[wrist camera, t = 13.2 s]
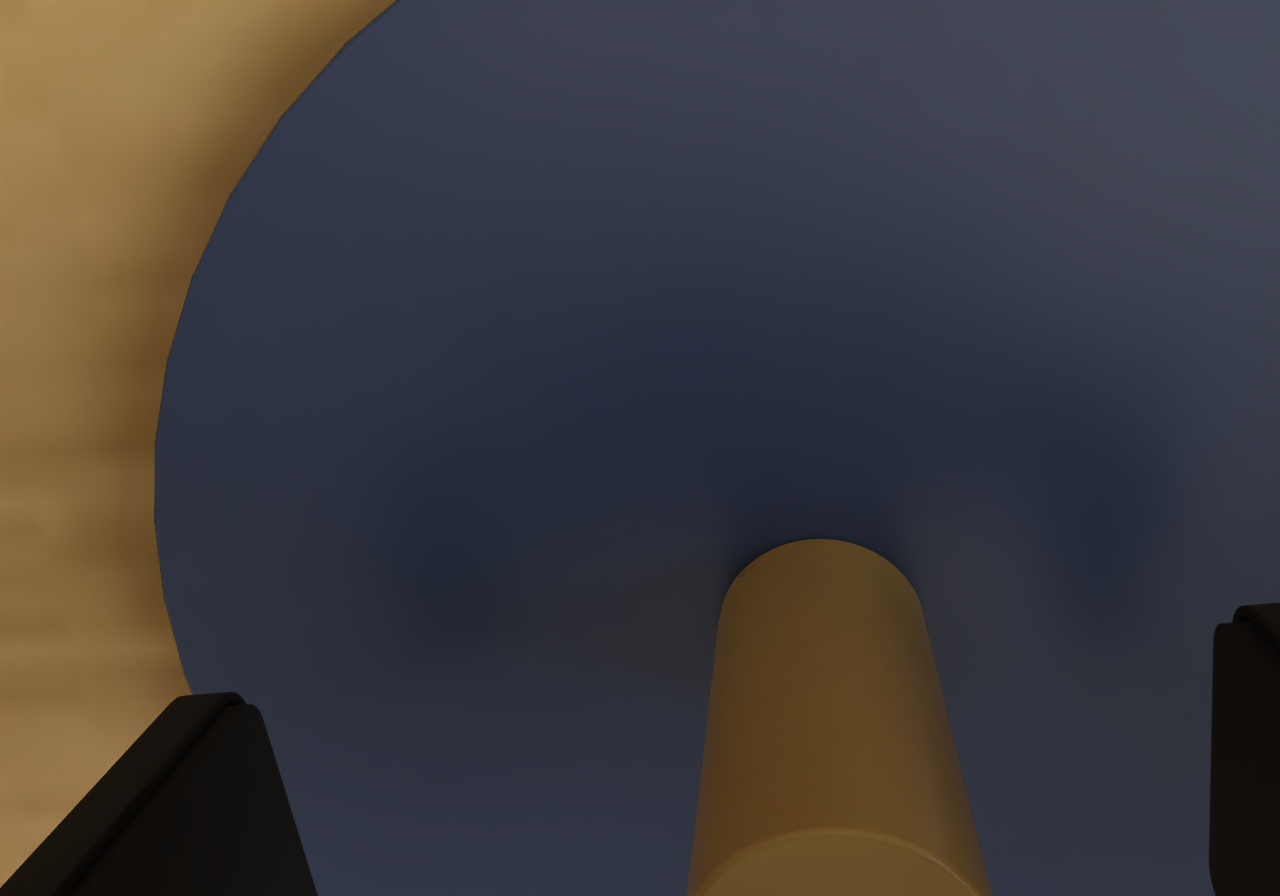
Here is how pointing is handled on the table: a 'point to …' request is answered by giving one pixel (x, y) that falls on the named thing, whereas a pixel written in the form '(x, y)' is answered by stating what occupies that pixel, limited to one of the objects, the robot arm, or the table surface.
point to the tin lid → (741, 443)
